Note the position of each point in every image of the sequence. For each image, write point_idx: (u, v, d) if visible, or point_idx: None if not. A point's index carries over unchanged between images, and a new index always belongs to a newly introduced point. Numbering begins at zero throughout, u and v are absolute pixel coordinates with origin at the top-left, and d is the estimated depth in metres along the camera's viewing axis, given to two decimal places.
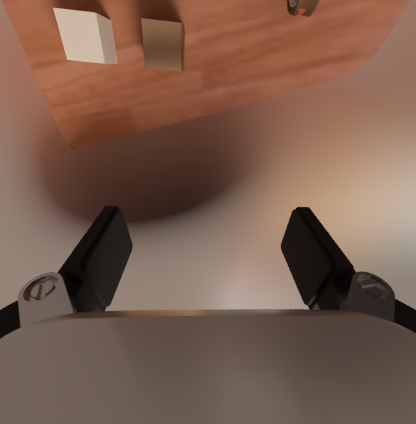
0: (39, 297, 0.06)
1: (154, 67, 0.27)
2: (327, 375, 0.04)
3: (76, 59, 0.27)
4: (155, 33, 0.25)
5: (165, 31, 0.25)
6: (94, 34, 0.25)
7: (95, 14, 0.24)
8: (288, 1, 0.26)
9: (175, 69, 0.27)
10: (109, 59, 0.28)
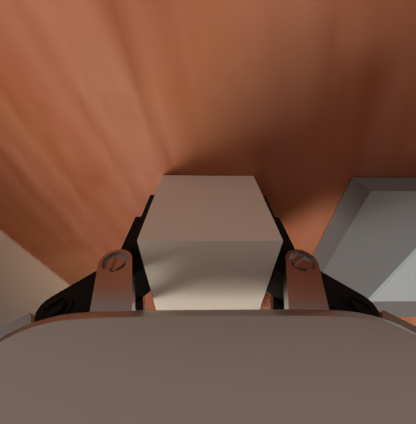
0: (112, 269, 0.07)
1: None
2: (327, 375, 0.04)
3: (147, 263, 0.07)
4: None
5: None
6: (218, 306, 0.09)
7: None
8: None
9: None
10: None
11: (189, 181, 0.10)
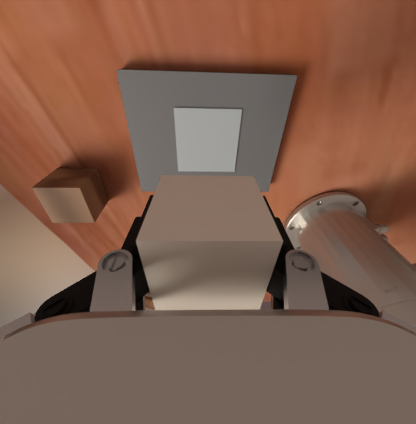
0: (112, 269, 0.07)
1: (38, 197, 0.22)
2: (327, 375, 0.04)
3: (146, 264, 0.07)
4: (73, 200, 0.22)
5: (80, 209, 0.23)
6: (218, 307, 0.09)
7: None
8: None
9: (51, 217, 0.24)
10: None
11: (189, 181, 0.10)
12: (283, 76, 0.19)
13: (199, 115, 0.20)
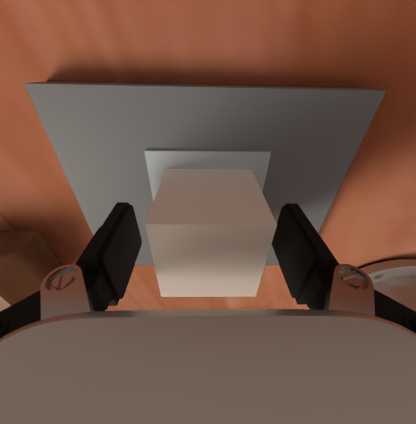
0: (59, 287, 0.07)
1: None
2: (327, 375, 0.04)
3: (153, 246, 0.08)
4: None
5: None
6: (218, 289, 0.10)
7: (252, 294, 0.10)
8: None
9: None
10: None
11: (191, 174, 0.11)
12: (358, 93, 0.09)
13: (192, 162, 0.11)
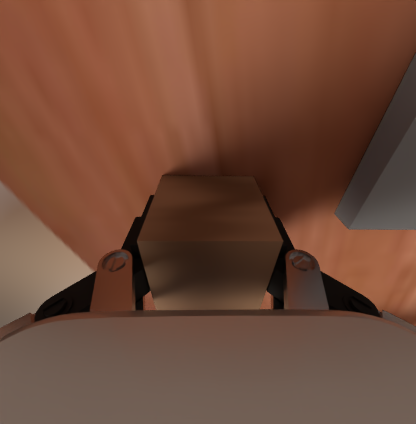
0: (111, 269, 0.07)
1: (147, 264, 0.07)
2: (327, 375, 0.04)
3: None
4: (239, 272, 0.08)
5: (243, 290, 0.08)
6: None
7: None
8: None
9: (158, 305, 0.09)
10: None
11: None
12: None
13: None
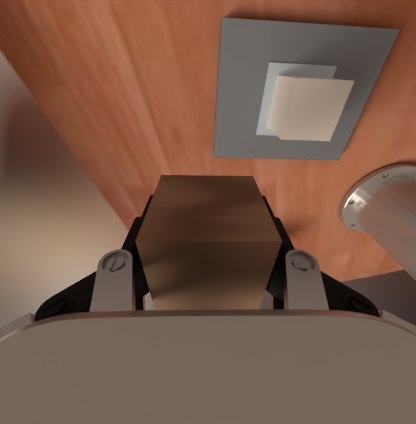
0: (112, 269, 0.07)
1: (146, 264, 0.07)
2: (327, 375, 0.04)
3: (294, 95, 0.17)
4: (238, 272, 0.08)
5: (242, 290, 0.08)
6: (312, 133, 0.19)
7: (328, 139, 0.19)
8: None
9: (157, 305, 0.09)
10: None
11: (294, 76, 0.20)
12: (386, 29, 0.18)
13: (293, 71, 0.20)
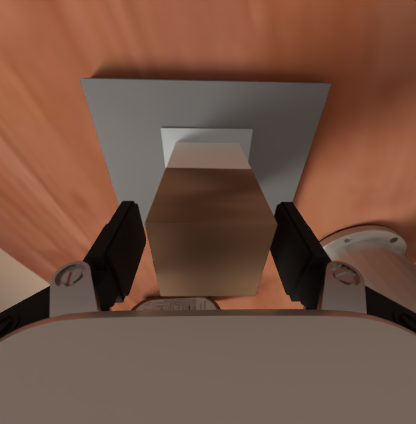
0: (68, 283, 0.07)
1: (153, 246, 0.08)
2: (327, 375, 0.04)
3: None
4: (238, 254, 0.08)
5: (241, 272, 0.09)
6: None
7: None
8: (138, 305, 0.31)
9: (161, 287, 0.10)
10: None
11: (194, 145, 0.15)
12: (311, 85, 0.13)
13: (195, 137, 0.15)
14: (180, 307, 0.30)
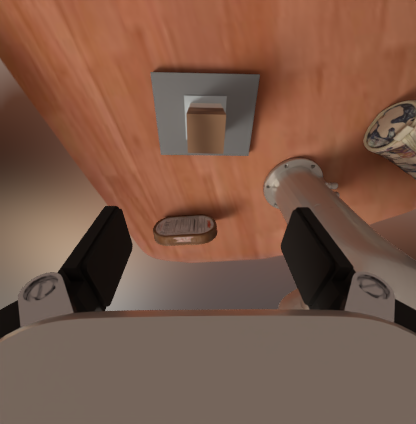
0: (39, 297, 0.06)
1: (187, 124, 0.25)
2: (327, 375, 0.04)
3: None
4: (215, 129, 0.25)
5: (217, 139, 0.26)
6: None
7: None
8: (162, 220, 0.48)
9: (188, 147, 0.27)
10: None
11: (199, 103, 0.32)
12: (251, 75, 0.30)
13: (200, 100, 0.32)
14: (189, 220, 0.47)
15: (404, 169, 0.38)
